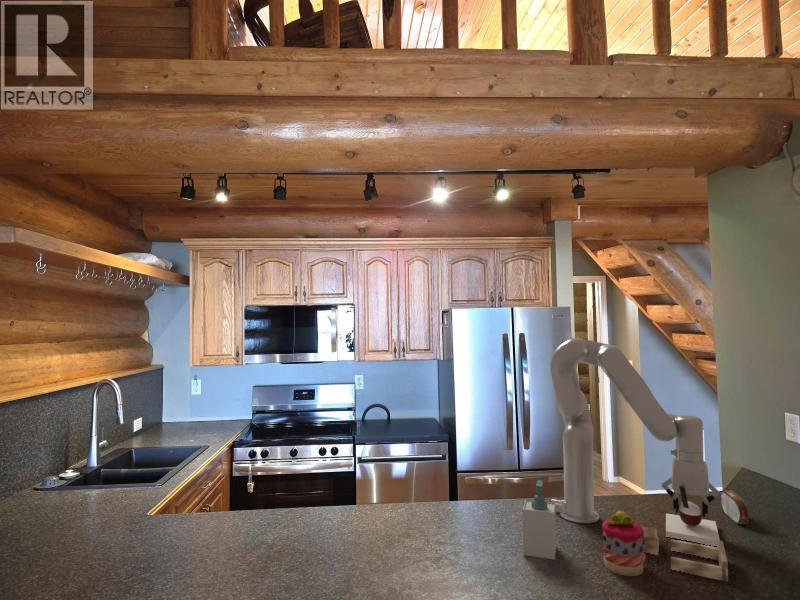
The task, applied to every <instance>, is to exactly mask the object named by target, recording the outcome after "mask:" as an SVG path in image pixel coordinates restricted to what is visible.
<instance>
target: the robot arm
mask: <svg viewBox="0 0 800 600" xmlns="http://www.w3.org/2000/svg"><path fill="white" fill-rule="evenodd" d="M549 363H550V365H549V366H550V375H551V380H552V385H553V391H554V395H555V400H556V408H557V409H558V411H559V413H560V414H561V415H562V419H563V425H564V430H563V433H562V451H563V452H562V453H563V495H564V496H563V499H561V500H560V499H556V498H552V499H551V501H550V502H554V503H556V509H557V508H560V509H559V516H560V517H562V518H563V519H564V520H566V521H569V522H572V523H578V524H579V523H580V524H592V523H593V524H594V523H596V522H598V521H599V520H600V515H599V513H598V512H597V511H596V510H595V494H594V493H595V486H594V480H595V479H594V476H595V475H594V434H595V431H594V430H595V429H594V428H595V427H594V424H593V422H592V421H593V420H592V417H591V413H590V407H589V403H588V399H587V397H586V395H585V393H584V392H583V391H582V390H581V387H580V386H581V385H580V381H579V377H578V373H577V366H578V364H579V363H582V364H587V365H591V366H595V367H600V368H601V371H603V372H604V374H605V375H606V377H607V378H608V379H609V380H610V382H611V383H612V385H614V387H615V388H616V390H617V391H618V392H619V393H620V395H621V396H622V398H623V399H624V401H625V402H626V403H627V404H628V406H629V407H630V408H631V409H632V410H633V413H635V415H636V416H637V417H638V418H639V420H640V421H641V423H642V424H643V425H644V426H645V428H646V429H647V430H648V432H649V433H650V435H652V437H653V438H654V439H656V440H657V441H660V442H671V441H672V440H673V439H675V449H673V450H670V455H672V456H674V458H673V459H672V464H671V477H669V478H667V479H666V480H664V482H662V483H661V488H663V490H664V491H666V493H667V494H668V495H669V496H670V497H671V498H672V500H673V501H672V505H673V506H672V509H673V510H675V513H676V514H678V513H679V509H678V504H679V495H680V494H681V493H680V488H679V487H684V488H685V492H686V495H691V496H699V497H701V499H702V502H701V510H702V518H706V515H709V506H708V505H709V504H710V503H711V502H713V501H714V500H715V499H716V498H717V497H718V496H721V492H720V491H719V490H718V489H717V487H715V486H714V485H713V484H712V483H711V482H710V480H709V479H710V478H709V470H708V465H707V462H706V461H704V429H703V428H704V427H703V426H704V425H703V423H704V422H703V420H702V418H700V417H697V416H694V415H684V414H682V415H677V414H672V413H667V412H666V411H665V409H664V408H663V407H662V405H661V404H660V403H659V402H658V400H657V398H656V397H655V395H654V394H653V393H652V391H651V389H650V387H649V386H648V384H647V382H646V381H645V380H644V379H643V377H642V376H641V375H640V373H639V371H637V370H636V368H635V367H634V366H633V364H632V363H631V361H629V360H628V358H627V357H626V355H625V354H624V352H622V350H621V348H620V347H619V346H617V345H614V344H609V343H605V342H598V341H593V340H589V339H585V338H580V337H572V338H569V339H567V340H565V341H564V342H562V343H561V344H560V345H559V346H558V347H557V348H556V349H555V350H554V352H553V353H552V356H551V359H550V362H549ZM669 485H671V488H670V487H669ZM710 491H711V494H710Z"/></svg>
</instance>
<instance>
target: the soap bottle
mask: <svg viewBox="0 0 800 600" xmlns="http://www.w3.org/2000/svg"><path fill="white" fill-rule="evenodd" d="M543 482H544V481H543V480H541V479H538V480H537V481H536V482H535V483H536V484H535V492H536V493H537V494H536V495H534V497H533V499H525V500H524V504H523V508H522V551H523V552H522V555H523V556H527V557H528V556H529V557H532V558H533V557H534V558H540V559H547V560H554V561H555V560H556V552H557V551H556V550H557V533H556V532H557V526H556V525H557V520H556V519H557V514H556V512H557V511H556V509H557V507H556V503H554V502H551V501H547V500H546V498H545V496H544V495H543V494H542V493H543V488H544V485H543V484H544V483H543Z"/></svg>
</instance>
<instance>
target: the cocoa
mask: <svg viewBox="0 0 800 600" xmlns="http://www.w3.org/2000/svg"><path fill="white" fill-rule="evenodd" d="M679 488H680V493H679V494H680V497H681V501H680V502H678V513H679V516H680V518H681V520H682V521H683V522H684V523H685V524H687V525H691V526H696V525H699V524H700V522H701V520H702V519H703V515H702V507H700V506H698V505H697V504H695V503H693V502H691V501H688V497H687V494H686V492H685V488H684V487H679Z"/></svg>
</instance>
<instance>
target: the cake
mask: <svg viewBox="0 0 800 600" xmlns="http://www.w3.org/2000/svg"><path fill="white" fill-rule="evenodd" d="M601 526H602V527H601V529H602V532H601V533H602V534H601V535H602V540H603V541H602V543H603V548H601V551H602V552H603V566H604V567H605V568H606V570H608V571H610V572H612V573H613V574H616V575H621V576H625V577H636V576H637V577H638V576H639V575H642V574H643V573H644V563H645V561H646V557H647V556H646V553H644V551H643V544H644V540H643V539H644V530H643V528H642V527H643V526H641V525H639V523H637V522H635V520H634V519H632V517H631V516H630V515H627V513H626V512H625V511H623V510H617V511H616V512H615V514H613V515H612V516H611V518H609V519H606V520H604V521H603V522H602V525H601Z"/></svg>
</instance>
